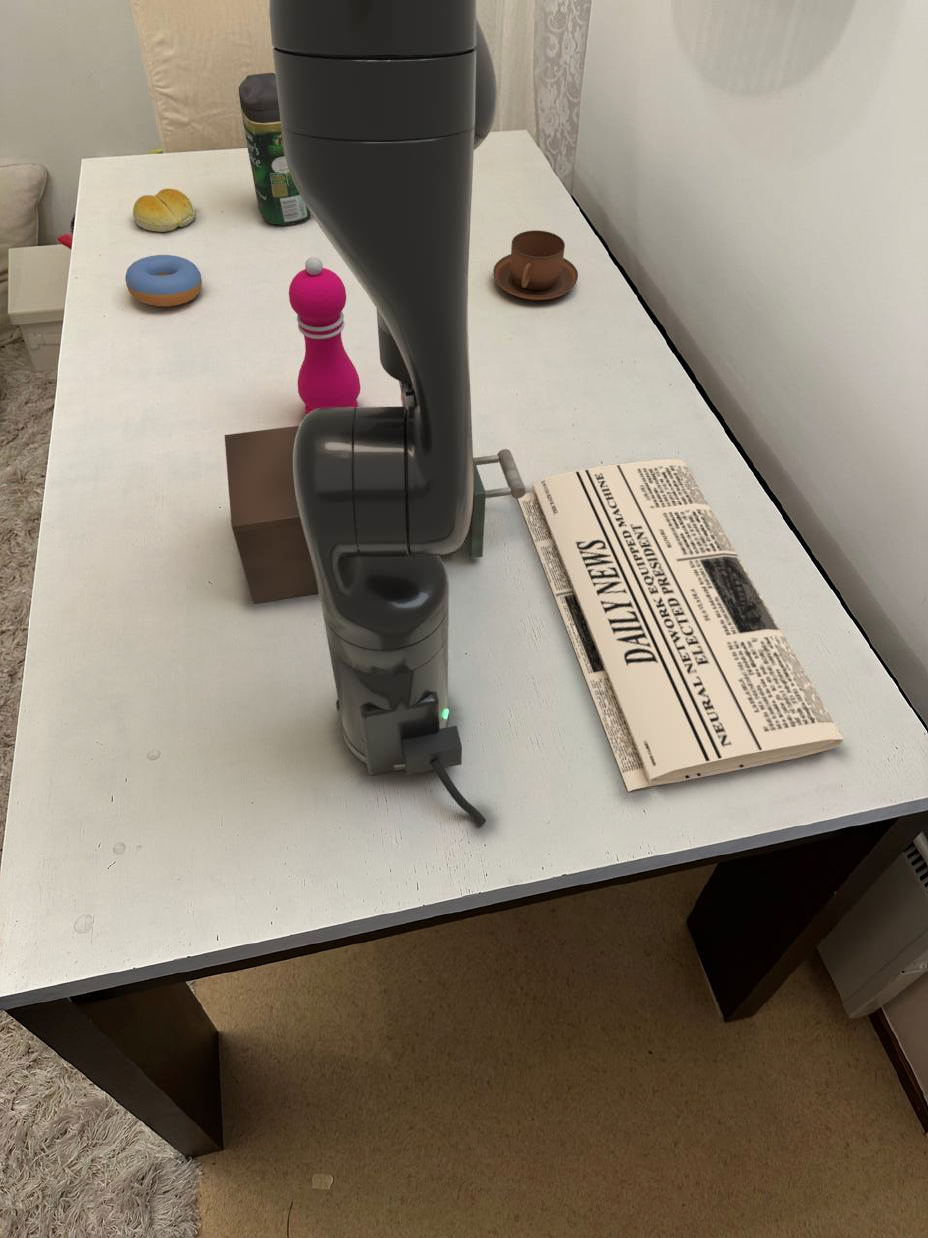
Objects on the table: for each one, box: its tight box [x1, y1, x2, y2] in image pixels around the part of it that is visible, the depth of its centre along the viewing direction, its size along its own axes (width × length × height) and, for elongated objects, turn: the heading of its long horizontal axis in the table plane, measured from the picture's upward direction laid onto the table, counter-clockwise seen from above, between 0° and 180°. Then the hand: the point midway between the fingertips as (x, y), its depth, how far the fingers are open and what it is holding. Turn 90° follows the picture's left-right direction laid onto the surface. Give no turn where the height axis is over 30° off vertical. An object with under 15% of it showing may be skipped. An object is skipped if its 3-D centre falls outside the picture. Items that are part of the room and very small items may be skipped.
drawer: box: [442, 448, 527, 559], centre depth 86 cm, size 19×12×9 cm, turn 103°
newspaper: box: [517, 458, 844, 792], centre depth 83 cm, size 37×19×3 cm, turn 13°
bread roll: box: [132, 188, 197, 233], centre depth 129 cm, size 8×9×4 cm
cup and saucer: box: [492, 229, 579, 301], centre depth 118 cm, size 12×12×6 cm
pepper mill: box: [288, 256, 361, 416], centre depth 94 cm, size 7×7×20 cm
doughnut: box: [124, 254, 203, 307], centre depth 115 cm, size 10×10×5 cm
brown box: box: [224, 425, 319, 604], centre depth 84 cm, size 15×13×11 cm
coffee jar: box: [238, 72, 312, 226], centre depth 125 cm, size 10×8×19 cm
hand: (425, 469), depth 83 cm, fingers closed on pill bottle, 4 cm apart
